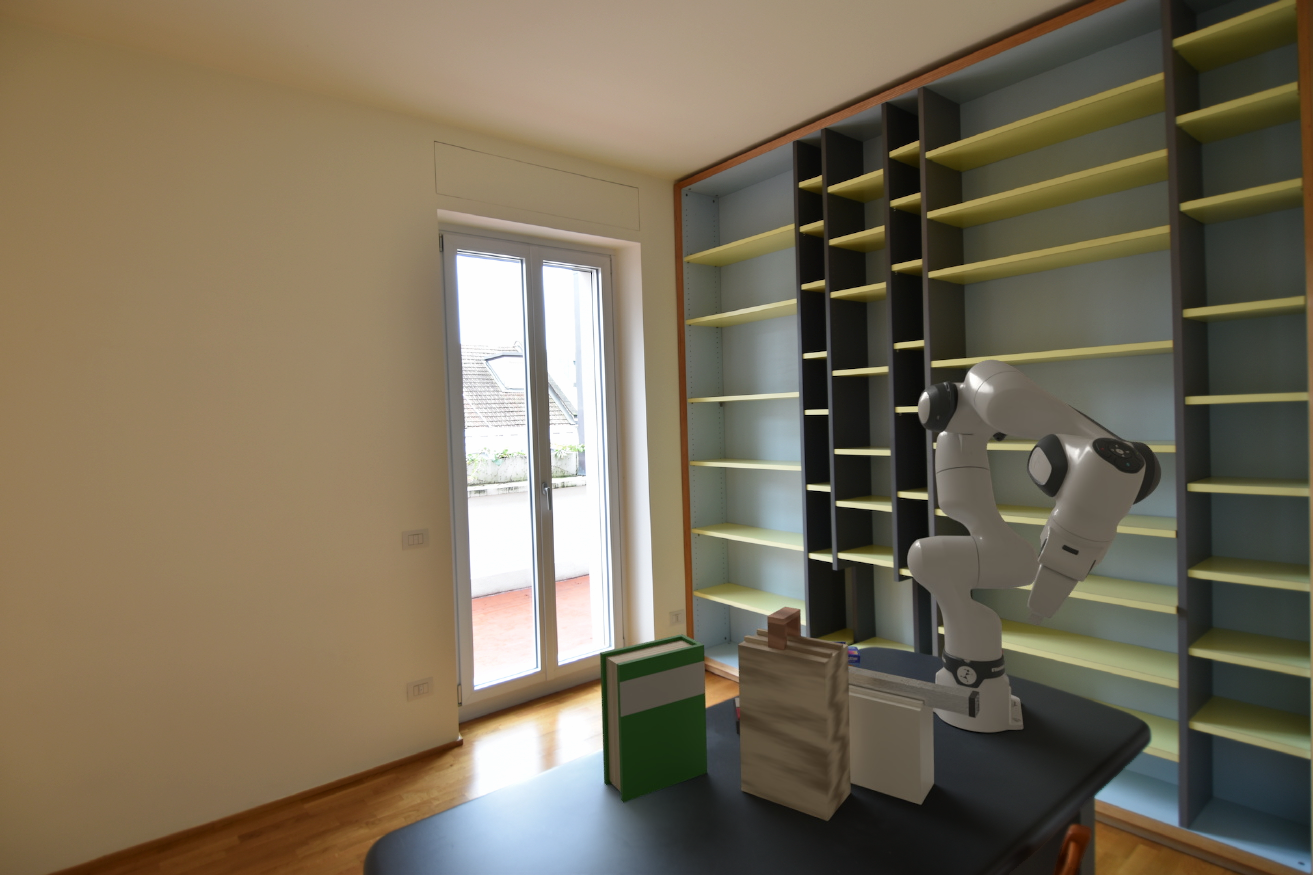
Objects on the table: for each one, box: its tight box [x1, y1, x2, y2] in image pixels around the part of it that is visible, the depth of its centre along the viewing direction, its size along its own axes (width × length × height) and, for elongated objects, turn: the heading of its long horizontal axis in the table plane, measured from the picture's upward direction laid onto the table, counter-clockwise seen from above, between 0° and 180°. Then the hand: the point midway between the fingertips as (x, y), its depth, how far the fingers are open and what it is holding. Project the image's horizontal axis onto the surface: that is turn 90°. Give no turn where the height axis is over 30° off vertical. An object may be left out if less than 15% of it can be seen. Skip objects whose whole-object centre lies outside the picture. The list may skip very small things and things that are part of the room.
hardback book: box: [599, 633, 708, 803], centre depth 125 cm, size 18×7×24 cm, turn 121°
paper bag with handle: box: [737, 606, 852, 822], centre depth 119 cm, size 10×16×31 cm, turn 53°
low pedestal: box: [849, 685, 935, 806], centre depth 121 cm, size 8×14×17 cm, turn 53°
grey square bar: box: [848, 666, 980, 718], centre depth 119 cm, size 3×24×3 cm, turn 53°
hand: (1040, 606), depth 112 cm, fingers open, 8 cm apart
